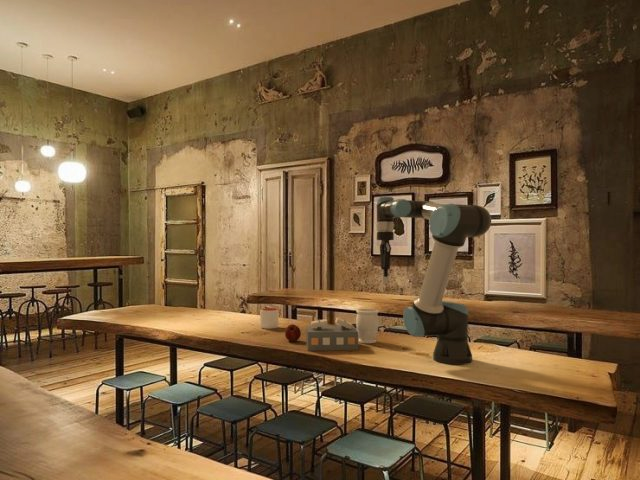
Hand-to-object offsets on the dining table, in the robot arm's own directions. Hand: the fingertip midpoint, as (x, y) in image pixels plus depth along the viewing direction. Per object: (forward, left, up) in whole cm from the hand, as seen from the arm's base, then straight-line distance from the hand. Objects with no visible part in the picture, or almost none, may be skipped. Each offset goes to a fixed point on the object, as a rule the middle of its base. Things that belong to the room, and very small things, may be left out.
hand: (385, 283), depth 213 cm
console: (+2, +24, -28) cm, 37 cm away
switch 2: (+2, +19, -18) cm, 26 cm away
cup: (+51, +53, -29) cm, 79 cm away
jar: (+11, +6, -29) cm, 31 cm away
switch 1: (+2, +30, -18) cm, 35 cm away
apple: (+15, +41, -29) cm, 52 cm away
